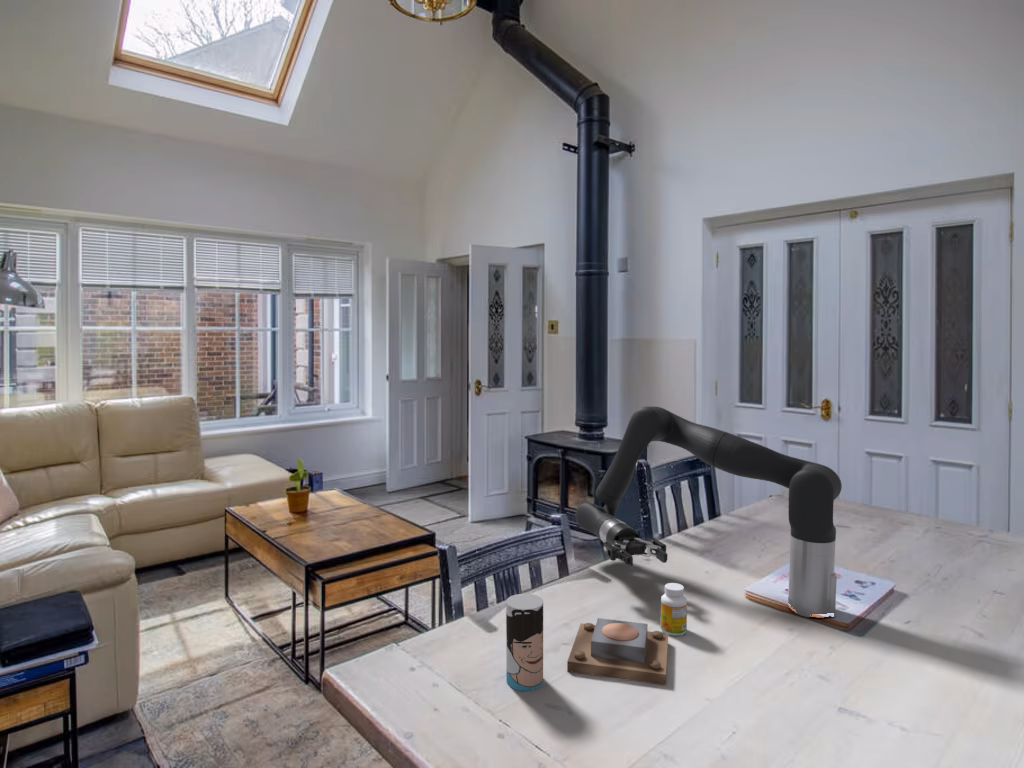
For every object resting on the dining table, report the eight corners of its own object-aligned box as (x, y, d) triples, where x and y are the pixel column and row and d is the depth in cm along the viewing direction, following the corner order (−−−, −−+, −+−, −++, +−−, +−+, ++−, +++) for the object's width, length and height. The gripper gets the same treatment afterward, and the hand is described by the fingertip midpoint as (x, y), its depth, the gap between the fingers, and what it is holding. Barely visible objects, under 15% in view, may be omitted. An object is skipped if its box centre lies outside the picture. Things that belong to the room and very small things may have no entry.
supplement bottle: (657, 625, 138) (657, 581, 137) (681, 624, 139) (682, 581, 138) (665, 637, 133) (666, 592, 132) (690, 636, 133) (691, 591, 132)
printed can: (510, 693, 112) (510, 611, 111) (502, 673, 119) (502, 595, 118) (547, 688, 114) (547, 607, 113) (537, 668, 120) (537, 592, 119)
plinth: (667, 643, 130) (668, 618, 130) (665, 685, 115) (666, 657, 114) (580, 632, 135) (580, 608, 134) (567, 671, 119) (567, 644, 119)
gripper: (593, 524, 159) (620, 546, 143) (645, 520, 163) (677, 541, 147) (592, 553, 160) (619, 578, 144) (644, 549, 163) (676, 573, 148)
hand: (648, 560), depth 146 cm, fingers open, 8 cm apart
